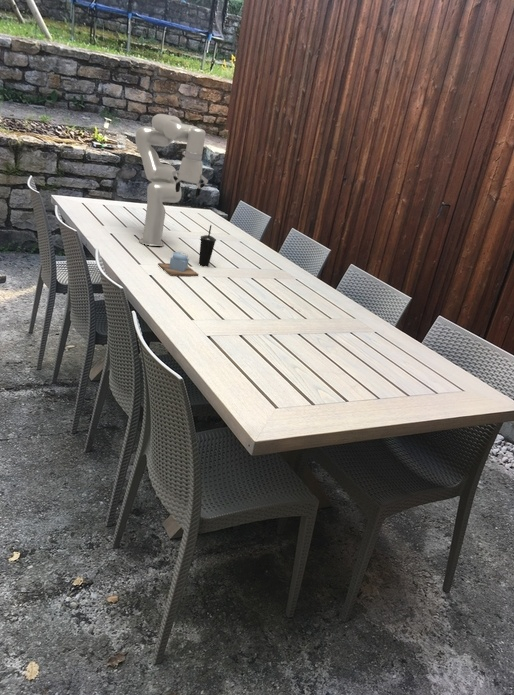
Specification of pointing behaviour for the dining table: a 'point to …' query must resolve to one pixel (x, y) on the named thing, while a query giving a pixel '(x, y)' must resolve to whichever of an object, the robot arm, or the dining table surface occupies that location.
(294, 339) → the dining table surface
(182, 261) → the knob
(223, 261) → the dining table surface
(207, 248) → the drinking cup
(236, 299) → the dining table surface
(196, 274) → the board
